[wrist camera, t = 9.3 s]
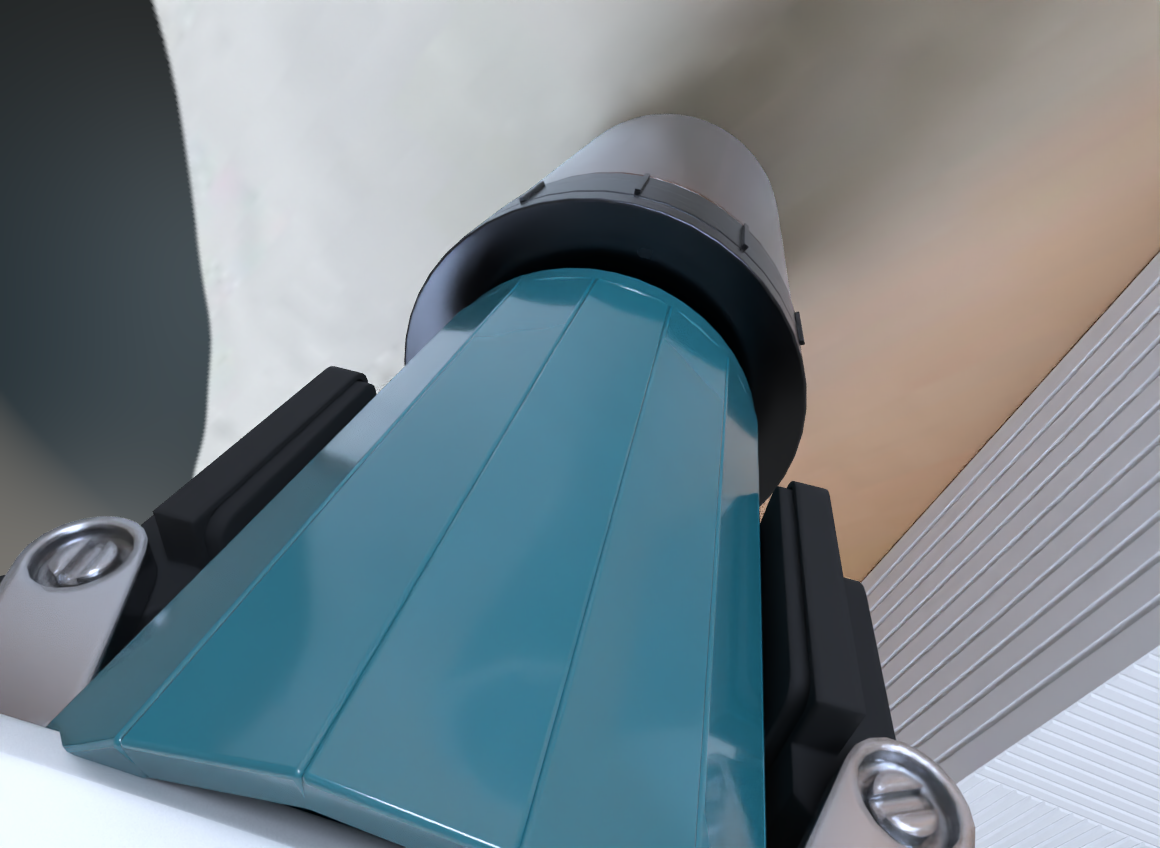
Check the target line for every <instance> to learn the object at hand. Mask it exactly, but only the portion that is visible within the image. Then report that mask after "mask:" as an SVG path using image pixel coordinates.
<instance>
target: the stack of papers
mask: <svg viewBox="0 0 1160 848" xmlns="http://www.w3.org/2000/svg"><path fill="white" fill-rule="evenodd" d="M861 584H862V585H863V586H864V589H865V592H866V595H867V600H868V605H869V610H870V615H871V619H872V624H873V629H874V634H875V639H876V644H877V649H878V654H879V659H880V664H881V669H882V674H883V678H884V683H885V688H886V693H887V698H888V703H889V708H890V713H891V718H892V723H893V728H894V732H895V737H896V740H897V741H901V742H904V743H906V744H908V745H910V746H912V747H914V748H915V749H917V750H919V751H921V752H923V753H924V754H926V755H927V756H928V757H929V758H931V759H932V760H933V761H934V762H935V763H937V764H938V765H939V766H940V767H942V768H943V770H944V771H945V772H946V773H947V774H948V775H949V777H950V778H951V779H952V780H953V781H954V782H955V784H956V785H957V786H958V788H959V789H960V791H961V793H962V795H963V796H964V798H965V800H966V802H967V803H968V805H969V807H970V811H971V814H972V817H973V821H974V824H975V848H1160V252H1159V253H1158V254H1157V255H1156V256H1155V257H1154V259H1153V260H1152V261H1151V262H1150V263H1149V264H1148V265H1147V266H1146V267H1145V269H1144V270H1143V271H1142V272H1141V273H1140V274H1139V275H1138V276H1137V277H1136V279H1135V280H1134V281H1133V282H1132V283H1131V284H1130V285H1129V286H1128V287H1127V289H1126V290H1125V291H1124V292H1123V293H1122V294H1121V295H1120V296H1119V297H1118V299H1117V300H1116V301H1115V302H1114V303H1113V304H1112V305H1111V306H1110V307H1109V308H1108V310H1107V311H1106V312H1105V313H1104V314H1103V315H1102V316H1101V317H1100V318H1099V320H1098V321H1097V322H1096V323H1095V324H1094V325H1093V326H1092V327H1091V328H1090V330H1089V331H1088V332H1087V333H1086V334H1085V335H1084V336H1083V337H1082V338H1081V340H1080V341H1079V342H1078V343H1077V344H1076V345H1075V346H1074V347H1073V348H1072V350H1071V351H1070V352H1069V353H1068V354H1067V355H1066V356H1065V357H1064V358H1063V359H1062V361H1061V362H1060V363H1059V364H1058V365H1057V366H1056V367H1055V368H1054V369H1053V371H1052V372H1051V373H1050V374H1049V375H1048V376H1047V377H1046V378H1045V379H1044V381H1043V382H1042V383H1041V384H1040V385H1039V386H1038V387H1037V388H1036V389H1035V391H1034V392H1033V393H1032V394H1031V395H1030V396H1029V397H1028V398H1027V399H1026V401H1025V402H1024V403H1023V404H1022V405H1021V406H1020V407H1019V408H1018V409H1017V410H1016V412H1015V413H1014V414H1013V415H1012V416H1011V417H1010V418H1009V419H1008V420H1007V422H1006V423H1005V424H1004V425H1003V426H1002V427H1001V428H1000V429H999V430H998V432H997V433H996V434H995V435H994V436H993V437H992V438H991V439H990V440H989V442H988V443H987V444H986V445H985V446H984V447H983V448H982V449H981V450H980V452H979V453H978V454H977V455H976V456H975V457H974V458H973V459H972V460H971V462H970V463H969V464H968V465H967V466H966V467H965V468H964V469H963V470H962V471H961V473H960V474H959V475H958V476H957V477H956V478H955V479H954V480H953V481H952V483H951V484H950V485H949V486H948V487H947V488H946V489H945V490H944V491H943V493H942V494H941V495H940V496H939V497H938V498H937V499H936V500H935V501H934V503H933V504H932V505H931V506H930V507H929V508H928V509H927V510H926V511H925V513H924V514H923V515H922V516H921V517H920V518H919V519H918V520H917V521H916V522H915V524H914V525H913V526H912V527H911V528H910V529H909V530H908V531H907V532H906V534H905V535H904V536H903V537H902V538H901V539H900V540H899V541H898V542H897V544H896V545H895V546H894V547H893V548H892V549H891V550H890V551H889V552H888V554H887V555H886V556H885V557H884V558H883V559H882V560H881V561H880V562H879V564H878V565H877V566H876V567H875V568H874V569H873V570H872V571H871V572H870V573H869V575H868V576H867V577H866V578H865V579H864V580H863V581H862V582H861Z"/></svg>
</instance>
